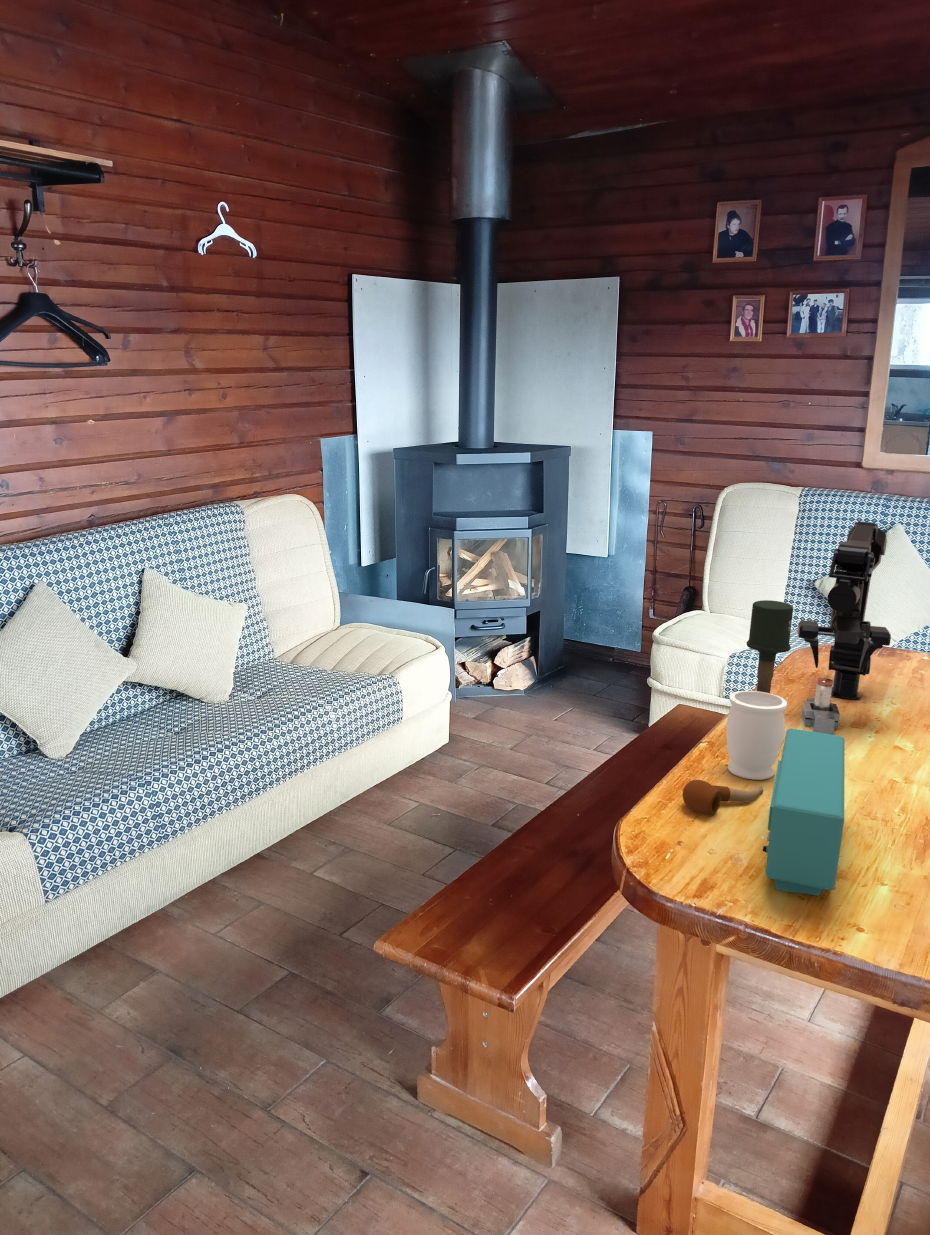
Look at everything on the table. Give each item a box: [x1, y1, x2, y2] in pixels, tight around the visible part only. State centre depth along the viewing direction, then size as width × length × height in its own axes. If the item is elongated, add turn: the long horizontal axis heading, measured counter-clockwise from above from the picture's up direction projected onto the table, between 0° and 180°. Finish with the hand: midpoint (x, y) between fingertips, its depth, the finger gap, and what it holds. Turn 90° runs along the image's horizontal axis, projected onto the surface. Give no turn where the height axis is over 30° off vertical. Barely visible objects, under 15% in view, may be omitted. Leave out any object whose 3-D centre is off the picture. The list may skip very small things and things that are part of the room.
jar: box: [725, 690, 788, 781], centre depth 180 cm, size 11×10×15 cm
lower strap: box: [801, 697, 840, 731], centre depth 214 cm, size 16×7×2 cm, turn 165°
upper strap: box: [802, 700, 841, 735], centre depth 208 cm, size 11×7×4 cm, turn 165°
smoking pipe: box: [682, 779, 764, 817], centre depth 168 cm, size 7×18×6 cm, turn 127°
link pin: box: [814, 677, 834, 711], centre depth 209 cm, size 3×3×10 cm
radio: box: [762, 728, 846, 896], centre depth 150 cm, size 34×10×15 cm, turn 158°
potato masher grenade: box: [746, 599, 794, 694], centre depth 193 cm, size 8×9×30 cm
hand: (838, 669), depth 209 cm, fingers open, 9 cm apart
